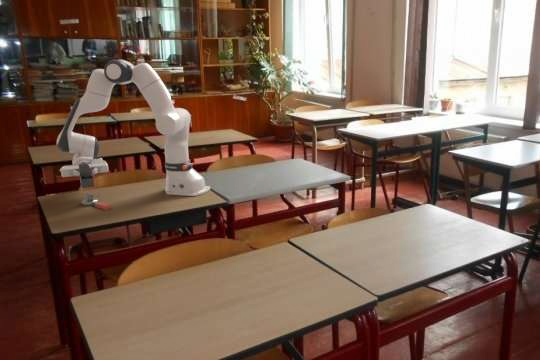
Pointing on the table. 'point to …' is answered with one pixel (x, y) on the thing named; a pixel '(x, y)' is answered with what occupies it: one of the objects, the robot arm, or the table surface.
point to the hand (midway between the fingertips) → (86, 173)
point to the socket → (86, 175)
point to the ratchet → (95, 202)
